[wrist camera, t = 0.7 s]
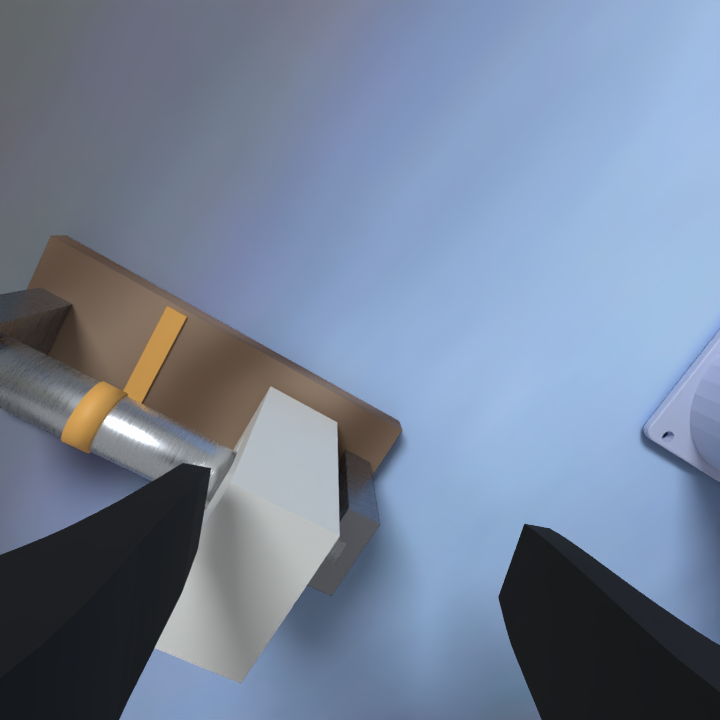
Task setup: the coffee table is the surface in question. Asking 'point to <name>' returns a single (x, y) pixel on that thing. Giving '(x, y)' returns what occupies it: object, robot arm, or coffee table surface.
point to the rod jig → (167, 384)
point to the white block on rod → (259, 538)
